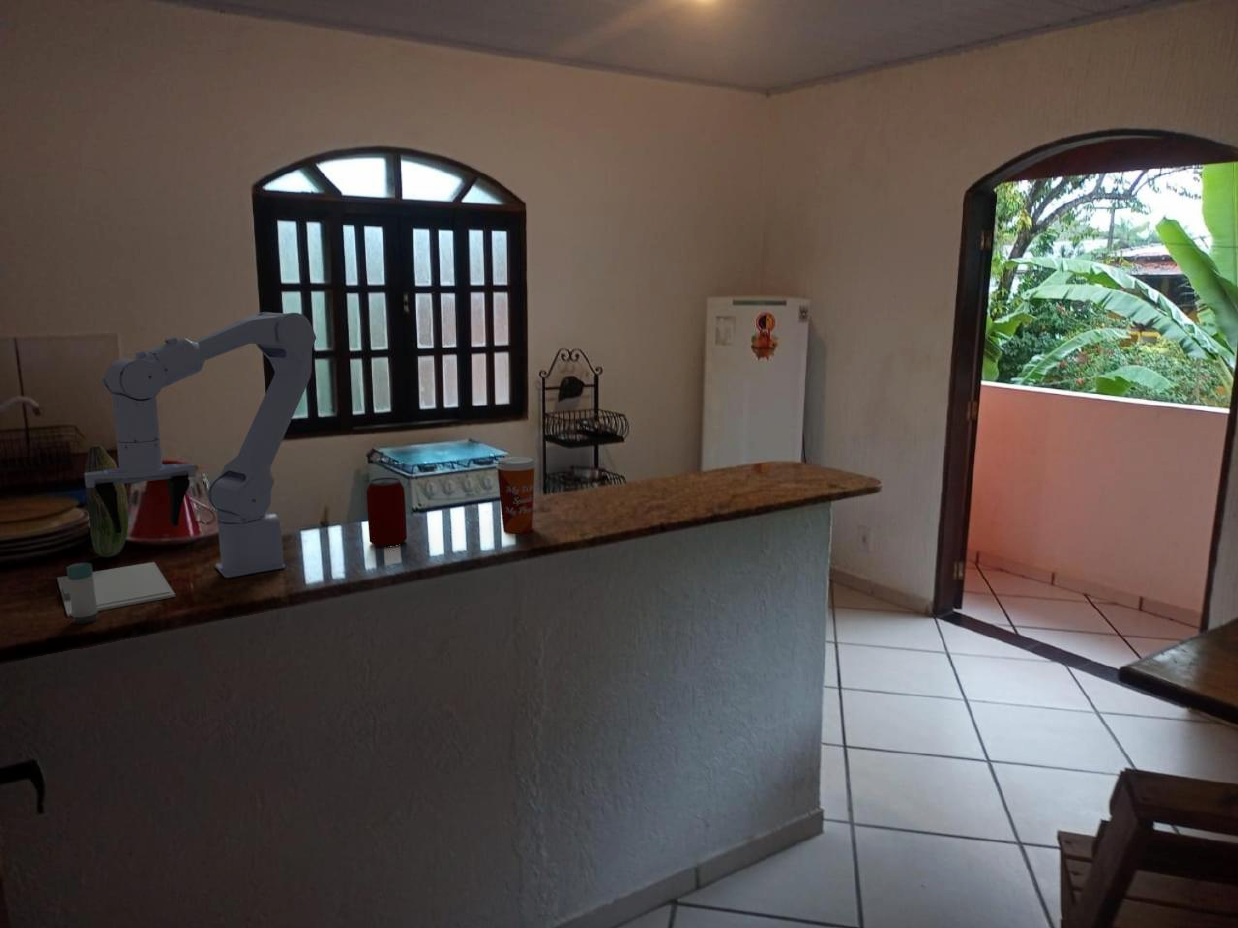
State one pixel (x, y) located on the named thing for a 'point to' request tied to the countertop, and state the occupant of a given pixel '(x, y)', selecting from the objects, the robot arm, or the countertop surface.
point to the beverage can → (386, 512)
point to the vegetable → (99, 517)
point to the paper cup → (516, 493)
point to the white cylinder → (82, 593)
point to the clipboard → (123, 587)
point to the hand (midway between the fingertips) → (146, 527)
